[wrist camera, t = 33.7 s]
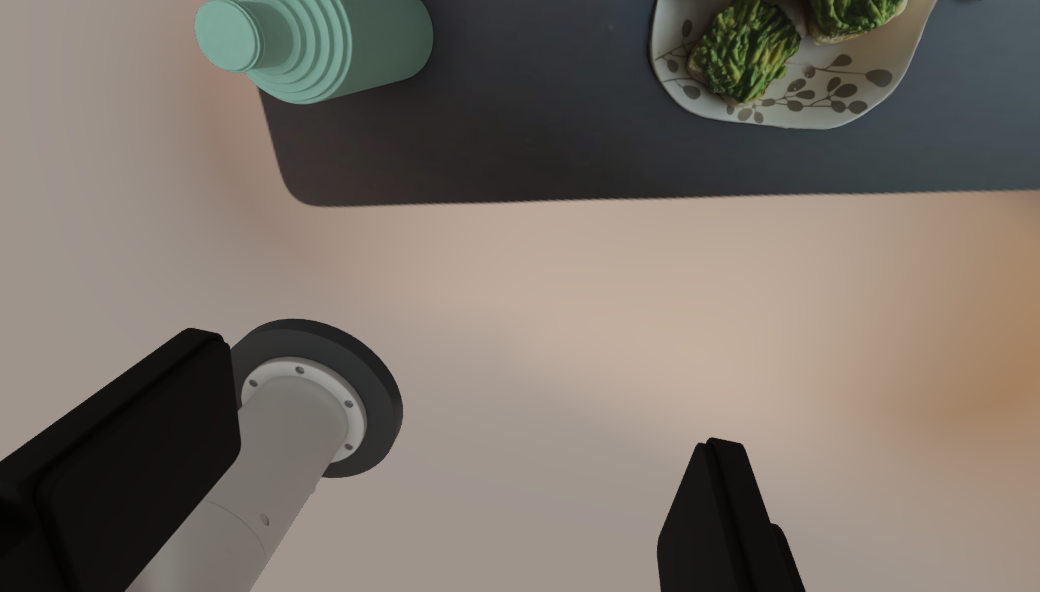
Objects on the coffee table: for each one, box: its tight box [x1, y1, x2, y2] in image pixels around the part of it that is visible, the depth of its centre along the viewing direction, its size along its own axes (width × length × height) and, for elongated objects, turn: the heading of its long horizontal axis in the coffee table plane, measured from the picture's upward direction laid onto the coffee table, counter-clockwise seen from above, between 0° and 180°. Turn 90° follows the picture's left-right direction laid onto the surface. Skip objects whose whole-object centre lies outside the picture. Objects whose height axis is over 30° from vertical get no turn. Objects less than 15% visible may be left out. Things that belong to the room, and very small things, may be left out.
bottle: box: [194, 0, 433, 104], centre depth 30 cm, size 6×6×19 cm
